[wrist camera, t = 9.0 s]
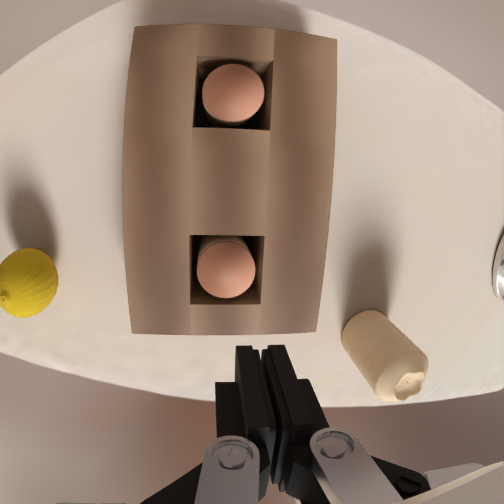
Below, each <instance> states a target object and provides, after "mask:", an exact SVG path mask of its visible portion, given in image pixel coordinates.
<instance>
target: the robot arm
mask: <svg viewBox="0 0 504 504" xmlns="http://www.w3.org/2000/svg"><path fill="white" fill-rule="evenodd" d="M493 288H494V292H495V295H496V297H497V298H498V299H499V300H500V301H501V302H503V303H504V235H503V237H502V239H501V241H500V244H499V246H498V249H497V252H496V256H495V261H494V266H493ZM215 396H216V428H217V439H215V440H213V441H212V442H211V443H210V444H209V445H208V446H207V448H206V450H205V454H204V459H203V462H202V463H201V464H199V465H198V466H197V467H195V468H194V469H192V470H191V471H189V472H188V473H186V474H185V475H183V476H182V477H180V478H179V479H177V480H176V481H175V482H173V483H171V484H170V485H168V486H167V487H165V488H163V489H162V490H160V491H159V492H157V493H155V494H154V495H152V496H151V497H149V498H147V499H146V500H144V501H143V502H142V503H140V504H258V502H259V501H260V500H261V499H262V498H263V497H264V496H265V495H266V489H267V484H268V481H269V475H270V476H271V481H272V484H278V487H279V491H280V492H284V491H286V493H287V494H288V495H290V496H292V497H294V501H295V504H504V461H503V462H499V463H495V464H492V465H489V466H486V467H484V466H483V465H481V464H478V463H469V464H464V465H459V466H455V467H449V468H444V469H438V470H431V471H426V472H425V473H424V474H423V475H421V474H420V473H418V472H415V471H413V470H410V469H407V468H404V467H401V466H398V465H395V464H392V463H390V462H387V461H384V460H381V459H379V458H376V457H373V456H371V455H369V454H368V452H367V451H366V449H365V448H364V447H363V445H362V444H361V443H360V441H359V440H358V439H357V438H356V436H355V435H354V434H352V433H351V432H349V431H347V430H345V429H341V428H334V427H331V428H330V427H329V425H328V423H327V420H326V418H325V416H324V413H323V411H322V409H321V406H320V404H319V402H318V399H317V397H316V395H315V392H314V390H313V388H312V385H311V383H310V381H309V380H308V379H297V377H296V374H295V371H294V369H293V366H292V364H291V361H290V358H289V356H288V353H287V350H286V348H285V346H284V345H268V348H267V349H263V350H262V356H261V359H260V355H259V351H258V349H257V350H253V348H252V346H236V356H235V382H215ZM57 504H89V503H57ZM90 504H93V503H90ZM94 504H95V503H94ZM102 504H126V503H102Z"/></svg>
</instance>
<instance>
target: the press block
mask: <svg viewBox="0 0 504 504" xmlns="http://www.w3.org/2000/svg"><path fill="white" fill-rule="evenodd" d="M227 64H240V65H243V66H246V67H248V68H250V69H252V70H253V71H254V72H255V73H256V74H257V75H258V76H259V77H260V79H261V81H262V83H263V86H264V99H263V102H262V104H261V106H260V108H259V109H258V124H257V130H252V129H232V128H196V125H197V107H198V92H199V78H207V77H208V75H209V74H210V73H211V72H212V71H213V70H215V69H216V68H218V67H220V66H223V65H227ZM336 100H337V39H333V38H328V37H323V36H317V35H312V34H306V33H300V32H293V31H286V30H279V29H270V28H261V27H250V26H236V25H215V24H172V25H151V26H137V27H135V28H134V35H133V42H132V49H131V56H130V65H129V73H128V83H127V94H126V106H125V121H124V140H123V233H124V253H125V269H126V281H127V293H128V303H129V312H130V321H131V329H132V333H135V334H162V335H260V334H287V333H307V332H316V328H317V321H318V314H319V307H320V299H321V292H322V284H323V276H324V267H325V258H326V249H327V240H328V230H329V219H330V207H331V195H332V182H333V167H334V150H335V129H336ZM193 235H240V236H252V247H251V256H252V258H253V260H254V263H255V276H254V279H253V282H252V284H251V285H250V287H249V288H248V289H247V290H246V291H245V292H243V293H242V294H240V295H238V296H235V297H231V298H220V297H216V296H213V295H211V294H210V293H208V292H207V291H206V290H205V289H204V288H203V287H202V286H201V284H200V282H199V280H198V276H193Z"/></svg>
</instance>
